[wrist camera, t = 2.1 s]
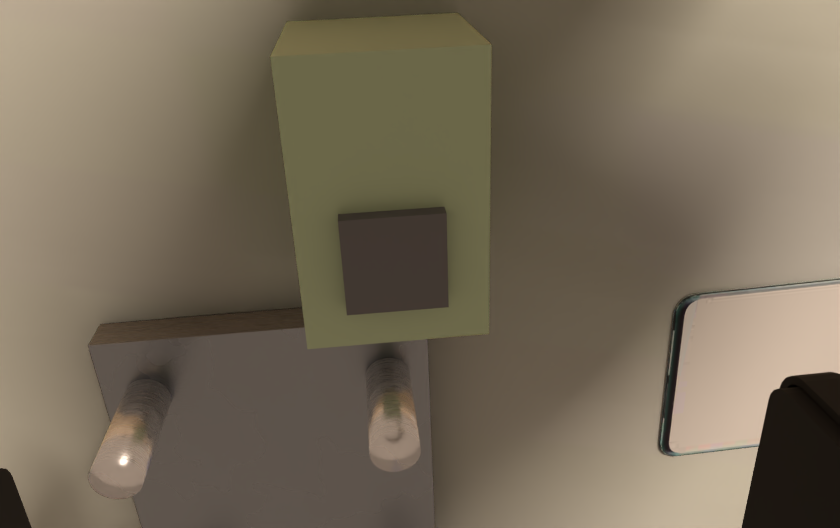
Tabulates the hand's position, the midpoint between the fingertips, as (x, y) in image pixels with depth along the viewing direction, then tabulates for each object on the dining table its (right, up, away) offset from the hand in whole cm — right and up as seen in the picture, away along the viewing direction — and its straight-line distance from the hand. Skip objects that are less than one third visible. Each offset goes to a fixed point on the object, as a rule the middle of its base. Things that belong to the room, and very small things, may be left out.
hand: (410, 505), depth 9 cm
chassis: (-5, -5, +17) cm, 18 cm away
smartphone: (+16, 0, +17) cm, 24 cm away
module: (-1, +6, +12) cm, 13 cm away
